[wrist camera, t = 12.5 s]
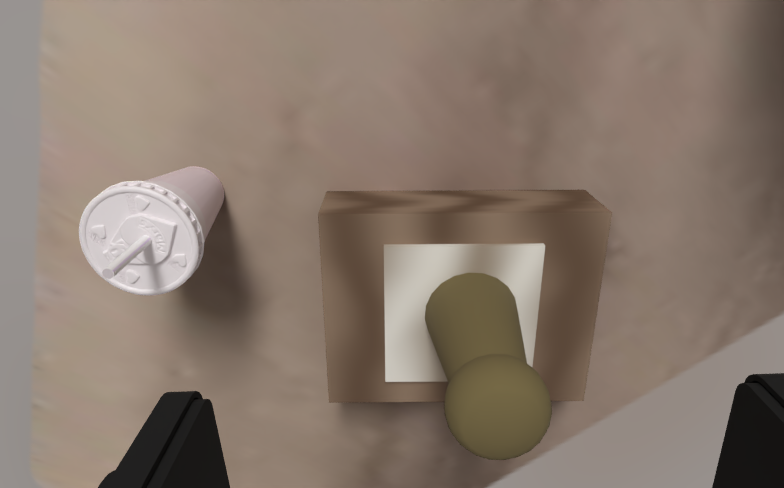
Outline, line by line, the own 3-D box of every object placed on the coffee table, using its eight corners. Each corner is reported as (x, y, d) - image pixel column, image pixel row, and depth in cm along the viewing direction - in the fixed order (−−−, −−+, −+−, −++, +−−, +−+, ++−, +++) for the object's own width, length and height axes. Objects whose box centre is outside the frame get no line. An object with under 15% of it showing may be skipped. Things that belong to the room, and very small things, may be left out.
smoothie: (260, 212, 39) (195, 307, 26) (184, 249, 40) (84, 358, 27) (211, 130, 36) (112, 188, 23) (132, 171, 37) (-5, 248, 24)
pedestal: (584, 189, 38) (614, 214, 33) (562, 360, 43) (585, 404, 38) (326, 191, 38) (317, 216, 33) (335, 362, 43) (328, 406, 38)
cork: (518, 349, 37) (568, 475, 26) (428, 358, 37) (443, 485, 27) (516, 267, 34) (570, 370, 24) (420, 277, 35) (433, 382, 24)
